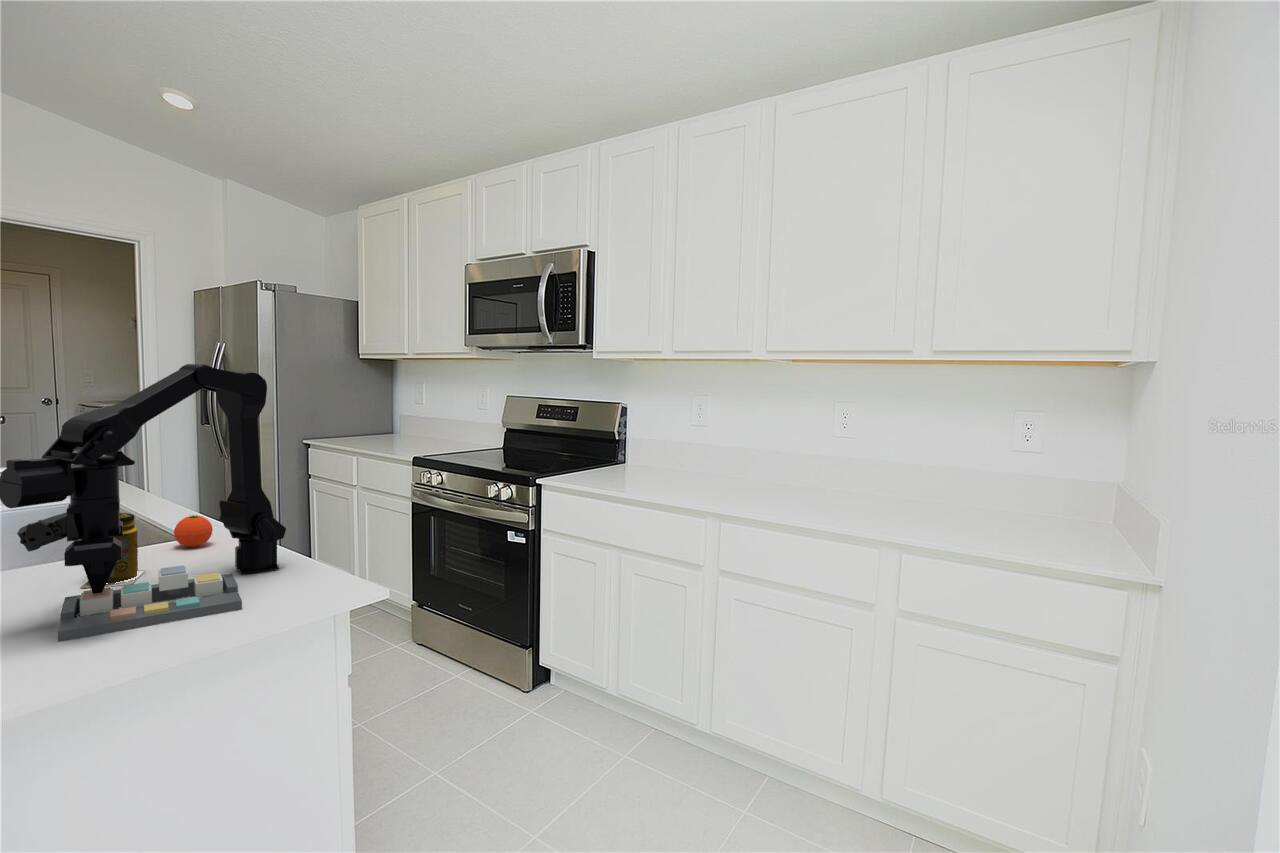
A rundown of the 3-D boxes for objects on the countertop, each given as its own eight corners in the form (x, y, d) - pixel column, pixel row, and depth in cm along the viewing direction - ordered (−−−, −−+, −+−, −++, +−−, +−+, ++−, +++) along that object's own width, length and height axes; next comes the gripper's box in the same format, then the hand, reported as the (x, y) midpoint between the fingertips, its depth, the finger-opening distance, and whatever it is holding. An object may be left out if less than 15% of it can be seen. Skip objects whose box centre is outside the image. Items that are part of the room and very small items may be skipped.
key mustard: (220, 593, 108) (220, 571, 107) (222, 600, 104) (222, 578, 104) (193, 597, 105) (193, 575, 105) (195, 605, 102) (195, 582, 101)
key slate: (186, 586, 104) (186, 564, 104) (188, 594, 101) (188, 571, 101) (158, 590, 102) (158, 568, 102) (159, 599, 99) (159, 575, 98)
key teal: (151, 604, 101) (150, 581, 101) (151, 612, 98) (151, 588, 98) (121, 608, 99) (121, 585, 99) (121, 617, 96) (120, 593, 95)
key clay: (113, 610, 98) (113, 586, 98) (112, 619, 95) (112, 594, 95) (82, 615, 96) (81, 590, 96) (80, 624, 93) (79, 599, 92)
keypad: (232, 586, 111) (232, 573, 111) (241, 609, 101) (241, 594, 101) (65, 612, 97) (65, 597, 96) (57, 641, 87) (57, 624, 87)
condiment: (145, 570, 117) (145, 510, 116) (131, 585, 109) (130, 520, 109) (97, 574, 114) (96, 512, 113) (79, 589, 106) (78, 523, 105)
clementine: (173, 543, 135) (173, 512, 134) (211, 539, 139) (211, 509, 138) (174, 552, 128) (173, 520, 128) (213, 548, 133) (213, 516, 132)
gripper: (30, 490, 96) (33, 585, 97) (12, 514, 82) (16, 624, 83) (122, 484, 103) (123, 573, 104) (120, 505, 89) (122, 607, 90)
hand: (97, 592), depth 95 cm, fingers closed, pressing on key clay
